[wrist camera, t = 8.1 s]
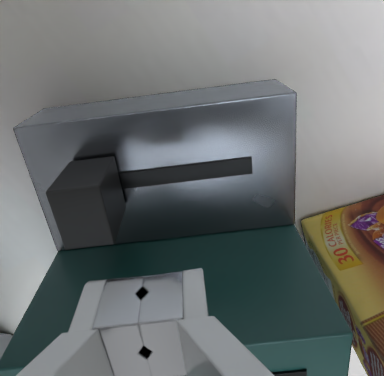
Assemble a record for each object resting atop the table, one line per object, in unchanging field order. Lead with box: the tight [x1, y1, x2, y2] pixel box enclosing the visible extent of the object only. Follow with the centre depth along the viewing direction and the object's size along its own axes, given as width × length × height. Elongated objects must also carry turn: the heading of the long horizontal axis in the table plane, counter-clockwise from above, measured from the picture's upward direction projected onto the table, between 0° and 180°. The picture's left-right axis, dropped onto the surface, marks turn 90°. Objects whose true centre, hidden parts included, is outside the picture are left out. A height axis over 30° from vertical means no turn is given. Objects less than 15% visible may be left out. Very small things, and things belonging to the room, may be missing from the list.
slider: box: [46, 156, 126, 250], centre depth 14 cm, size 2×3×3 cm
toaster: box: [0, 79, 353, 376], centre depth 16 cm, size 12×14×10 cm
